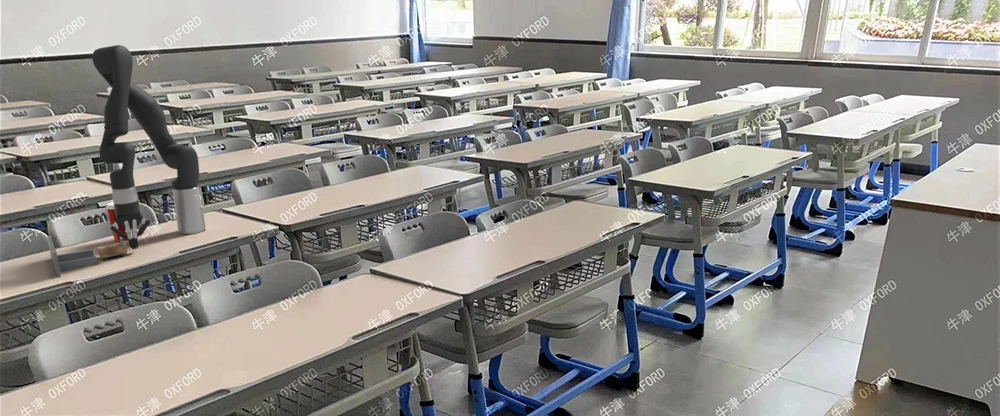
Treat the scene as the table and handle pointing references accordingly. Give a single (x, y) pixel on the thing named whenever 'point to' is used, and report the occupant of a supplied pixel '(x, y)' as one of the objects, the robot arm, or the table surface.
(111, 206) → the paper cup
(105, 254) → the walnut cart
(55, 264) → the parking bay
